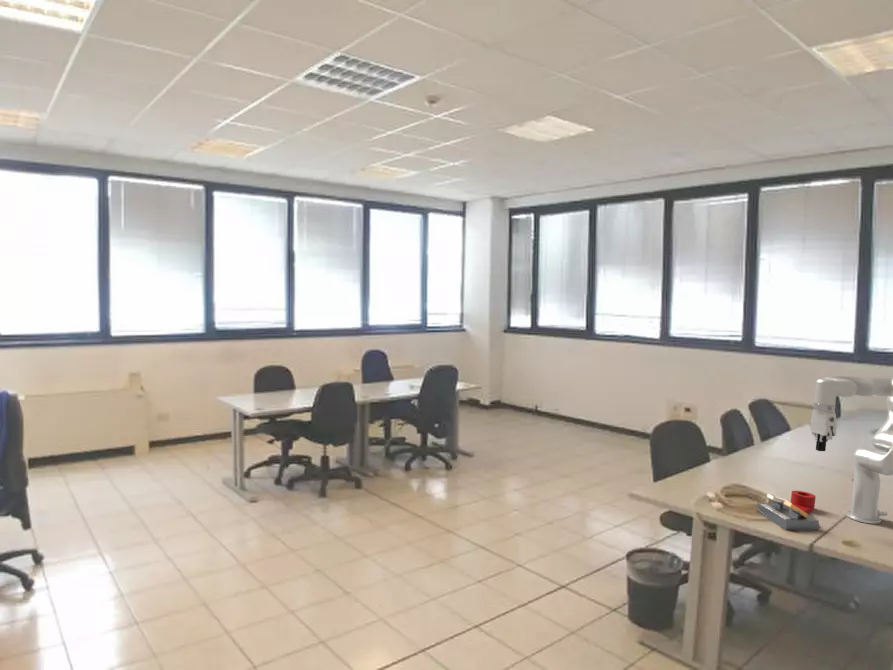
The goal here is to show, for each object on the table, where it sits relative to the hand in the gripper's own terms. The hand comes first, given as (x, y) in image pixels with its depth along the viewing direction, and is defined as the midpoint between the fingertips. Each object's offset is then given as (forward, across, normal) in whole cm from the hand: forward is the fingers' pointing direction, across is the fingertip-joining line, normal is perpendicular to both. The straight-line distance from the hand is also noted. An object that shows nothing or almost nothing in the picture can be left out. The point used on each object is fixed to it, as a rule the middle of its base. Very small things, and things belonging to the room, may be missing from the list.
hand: (820, 450), depth 256 cm
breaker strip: (+31, +1, +12) cm, 33 cm away
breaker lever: (+25, -4, +12) cm, 28 cm away
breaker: (+25, +7, +12) cm, 28 cm away
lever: (+31, +13, -3) cm, 34 cm away
